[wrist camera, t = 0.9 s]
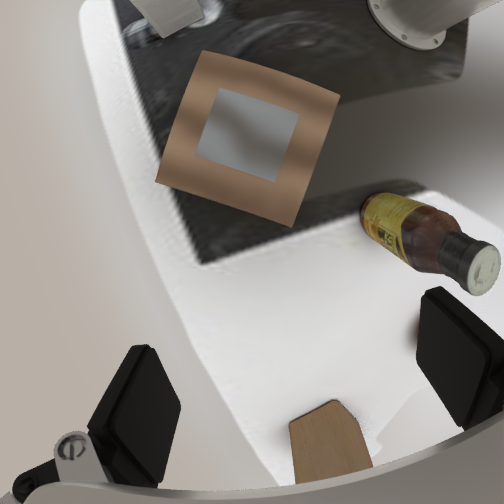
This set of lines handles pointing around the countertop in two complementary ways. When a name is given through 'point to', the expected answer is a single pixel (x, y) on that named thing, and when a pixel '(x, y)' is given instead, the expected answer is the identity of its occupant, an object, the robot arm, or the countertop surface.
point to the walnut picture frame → (247, 137)
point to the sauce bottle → (430, 241)
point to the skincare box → (169, 14)
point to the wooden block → (327, 444)
